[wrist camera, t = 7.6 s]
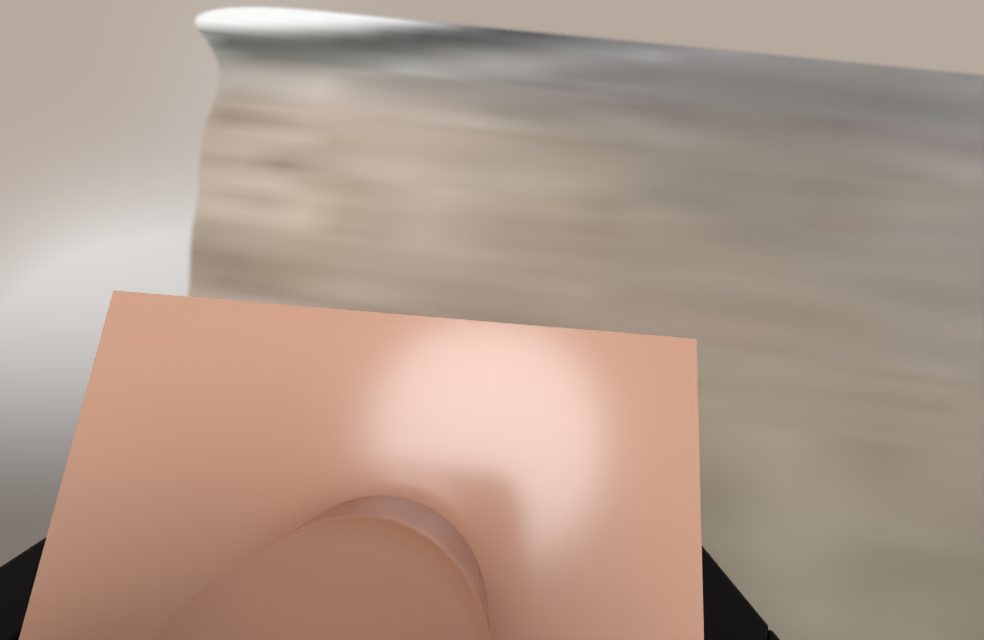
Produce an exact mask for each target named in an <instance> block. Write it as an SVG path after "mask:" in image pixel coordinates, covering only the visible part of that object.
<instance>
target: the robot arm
mask: <svg viewBox="0 0 984 640" xmlns="http://www.w3.org/2000/svg"><path fill="white" fill-rule="evenodd" d="M45 541H46V538H44V539H43V540H41V541H40V542H38V543H37V544H35V545H34V546H32V547H30V548H29V549H27V550H26V551H24V552H23V553H21V554H20V555H18V556H17V557H15V558H14V559H12V560H10V561H9V562H7V563H6V564H4V565H3V566H1V567H0V640H19V637H20V633H21V629H22V626H23V622H24V618H25V615H26V611H27V607H28V604H29V600H30V596H31V592H32V589H33V585H34V581H35V578H36V574H37V570H38V567H39V563H40V559H41V556H42V552H43V548H44V545H45ZM702 579H703V619H704V640H780V639H779V638H778V637H777V636H776V635H775V633H774V632H773V631H772V630H768V625H767V624H766V623H765V621H764V620H763V619H762V618H761V617H760V615H759V614H758V613H757V612H756V611H755V609H754V608H753V607H752V606H751V604H750V603H749V602H748V601H747V600H746V598H745V597H744V596H743V595H742V594H741V592H740V591H739V590H738V589H737V588H736V586H735V585H734V584H733V583H732V581H731V580H730V579H729V578H728V577H727V575H726V574H725V573H724V572H723V571H722V569H721V568H720V567H719V566H718V565H717V563H716V562H715V561H714V560H713V558H712V557H711V556H710V555H709V554H708V552H707V551H706V550H705V549H704V548H703V546H702Z"/></svg>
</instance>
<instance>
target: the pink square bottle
mask: <svg viewBox="0 0 984 640" xmlns="http://www.w3.org/2000/svg"><path fill="white" fill-rule="evenodd" d="M19 640H704V619H703V579H702V538H701V498H700V458H699V418H698V377H697V339H691V338H679V337H667V336H655V335H642V334H630V333H618V332H606V331H594V330H582V329H570V328H558V327H546V326H534V325H522V324H510V323H498V322H486V321H474V320H462V319H450V318H437V317H425V316H413V315H401V314H389V313H377V312H365V311H353V310H341V309H329V308H317V307H305V306H293V305H281V304H269V303H257V302H244V301H232V300H220V299H208V298H196V297H184V296H172V295H160V294H148V293H147V294H146V293H136V292H123V291H113V295H112V298H111V302H110V306H109V309H108V313H107V317H106V320H105V324H104V328H103V332H102V335H101V339H100V342H99V346H98V350H97V354H96V357H95V361H94V364H93V368H92V372H91V375H90V379H89V383H88V387H87V390H86V394H85V398H84V402H83V405H82V409H81V412H80V416H79V420H78V423H77V427H76V431H75V435H74V438H73V442H72V446H71V449H70V453H69V457H68V460H67V464H66V467H65V471H64V475H63V479H62V482H61V486H60V490H59V494H58V497H57V501H56V504H55V508H54V512H53V515H52V519H51V523H50V526H49V530H48V534H47V537H46V541H45V545H44V548H43V552H42V556H41V559H40V563H39V567H38V570H37V574H36V578H35V581H34V585H33V589H32V592H31V596H30V600H29V604H28V607H27V611H26V615H25V618H24V622H23V626H22V629H21V633H20V637H19Z"/></svg>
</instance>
